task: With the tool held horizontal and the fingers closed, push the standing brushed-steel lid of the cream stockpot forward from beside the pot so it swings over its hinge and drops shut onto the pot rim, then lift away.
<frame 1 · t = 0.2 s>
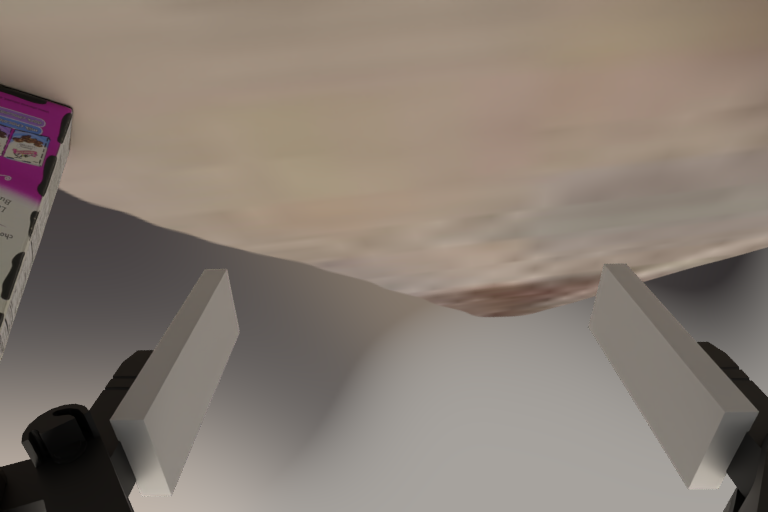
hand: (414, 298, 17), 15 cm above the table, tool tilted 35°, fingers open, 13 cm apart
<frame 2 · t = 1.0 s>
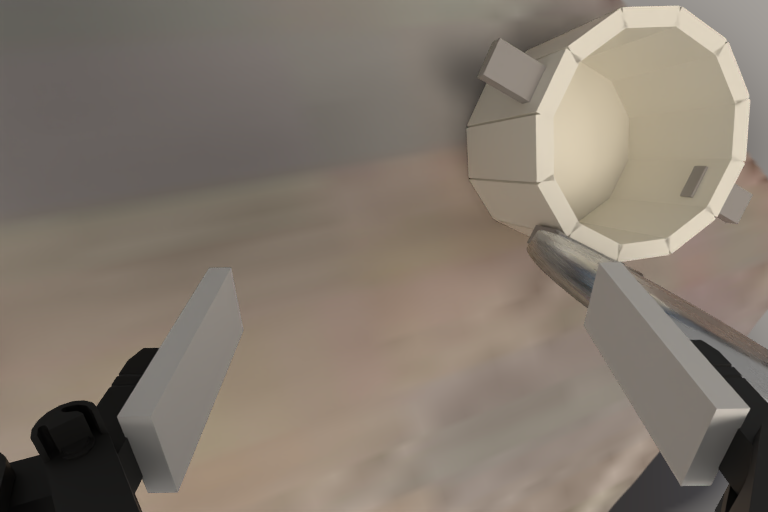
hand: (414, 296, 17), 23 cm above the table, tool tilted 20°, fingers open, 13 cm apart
lid: (684, 329, 23), point 20 cm above the table, hinge at 102.7°, touching gripper
stockpot: (553, 145, 41), on the table
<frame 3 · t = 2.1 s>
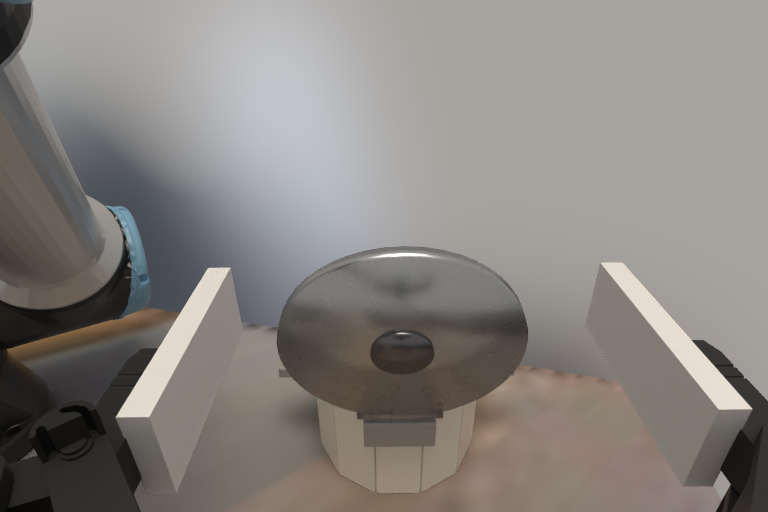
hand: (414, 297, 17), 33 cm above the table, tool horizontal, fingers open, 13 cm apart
lid: (401, 349, 33), point 20 cm above the table, hinge at 101.0°
stockpot: (395, 425, 52), on the table
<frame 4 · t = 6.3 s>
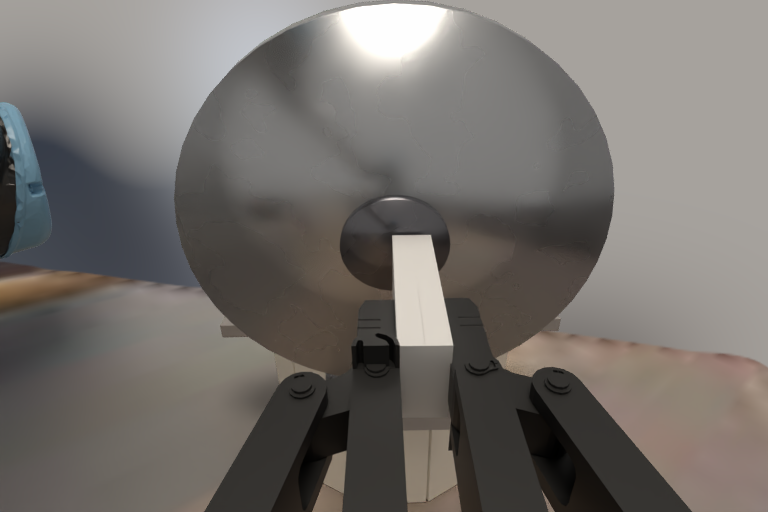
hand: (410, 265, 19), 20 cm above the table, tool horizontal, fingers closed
lid: (394, 243, 20), point 20 cm above the table, hinge at 96.8°, touching gripper
stockpot: (391, 408, 38), on the table
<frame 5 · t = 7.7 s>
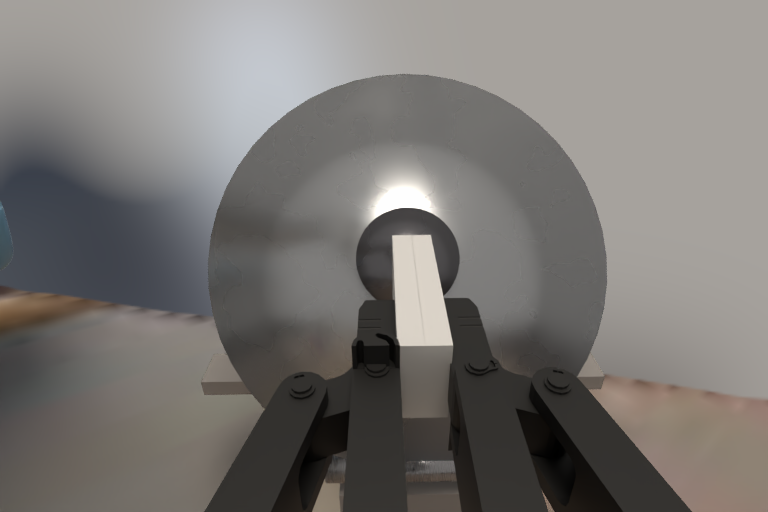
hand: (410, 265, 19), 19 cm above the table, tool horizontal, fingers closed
lid: (407, 267, 21), point 18 cm above the table, hinge at 51.8°, touching gripper
stockpot: (401, 468, 33), on the table
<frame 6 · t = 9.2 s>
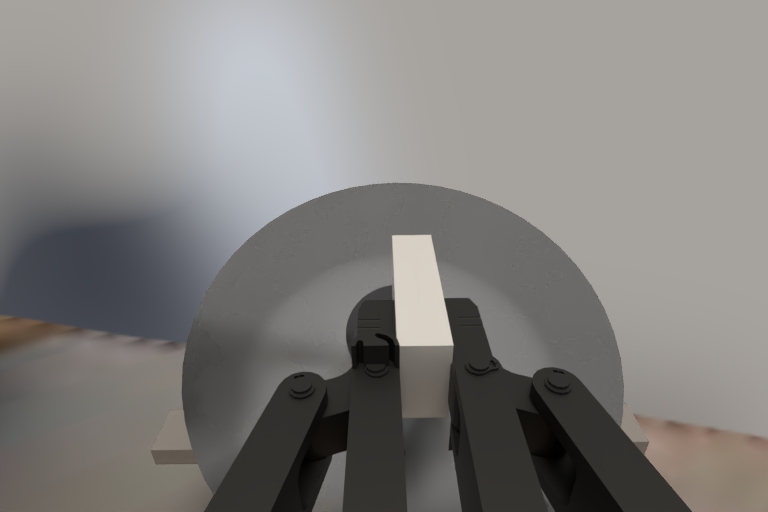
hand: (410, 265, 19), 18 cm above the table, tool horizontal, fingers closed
lid: (401, 346, 19), point 15 cm above the table, hinge at 24.5°, touching gripper
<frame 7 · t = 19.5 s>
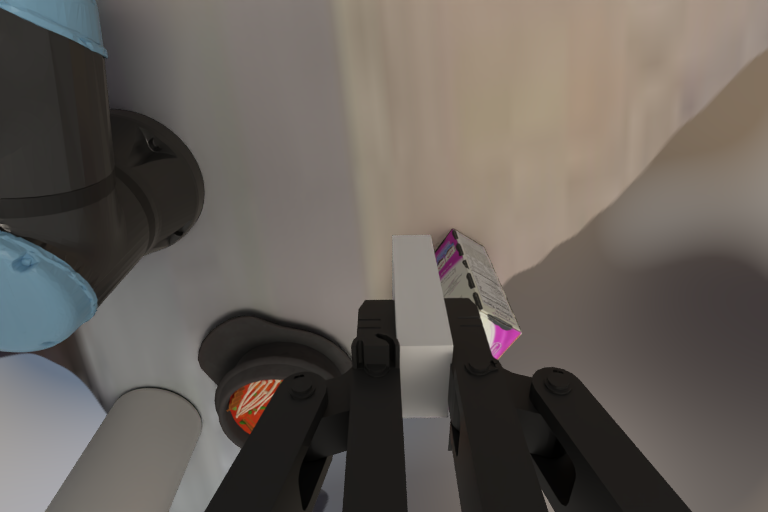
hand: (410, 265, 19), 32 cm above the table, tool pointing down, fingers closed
cylinder vase: (160, 415, 69), on the table
candy bar box: (443, 270, 57), on the table
casserole: (291, 372, 65), on the table
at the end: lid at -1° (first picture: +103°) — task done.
